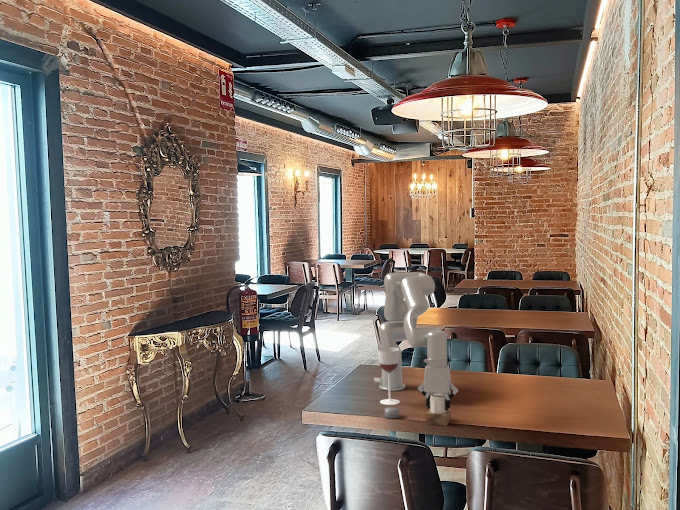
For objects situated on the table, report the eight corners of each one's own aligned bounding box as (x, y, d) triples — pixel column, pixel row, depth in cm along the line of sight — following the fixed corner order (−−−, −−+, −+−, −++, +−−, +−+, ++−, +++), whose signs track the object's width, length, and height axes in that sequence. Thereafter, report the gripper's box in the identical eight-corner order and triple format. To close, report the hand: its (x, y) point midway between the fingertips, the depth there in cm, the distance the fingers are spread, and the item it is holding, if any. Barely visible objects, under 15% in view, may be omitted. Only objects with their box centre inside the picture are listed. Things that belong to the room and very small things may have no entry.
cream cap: (437, 414, 218) (437, 399, 218) (427, 410, 223) (426, 395, 223) (449, 411, 221) (449, 396, 221) (439, 407, 226) (438, 392, 226)
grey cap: (394, 419, 226) (394, 411, 226) (382, 416, 229) (382, 409, 229) (401, 416, 231) (401, 408, 231) (389, 414, 234) (389, 406, 234)
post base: (425, 423, 220) (425, 401, 220) (430, 417, 228) (430, 396, 227) (446, 425, 217) (446, 403, 217) (451, 419, 224) (450, 397, 224)
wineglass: (402, 399, 253) (401, 347, 252) (397, 405, 244) (396, 352, 243) (382, 397, 256) (381, 346, 255) (376, 404, 247) (375, 351, 246)
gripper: (412, 363, 221) (413, 409, 222) (457, 366, 215) (458, 413, 215) (417, 359, 228) (418, 404, 229) (461, 362, 222) (462, 408, 222)
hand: (438, 408), depth 222 cm, fingers closed on cream cap, 6 cm apart
